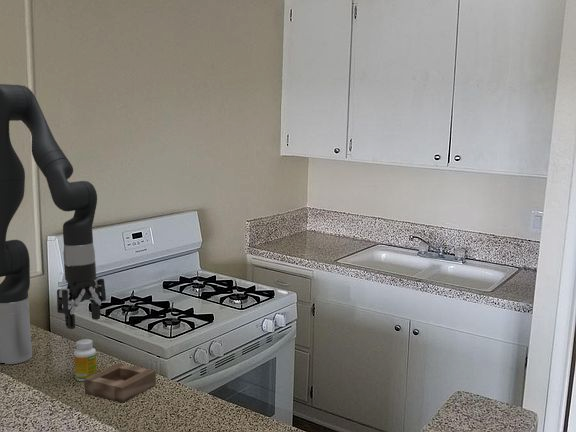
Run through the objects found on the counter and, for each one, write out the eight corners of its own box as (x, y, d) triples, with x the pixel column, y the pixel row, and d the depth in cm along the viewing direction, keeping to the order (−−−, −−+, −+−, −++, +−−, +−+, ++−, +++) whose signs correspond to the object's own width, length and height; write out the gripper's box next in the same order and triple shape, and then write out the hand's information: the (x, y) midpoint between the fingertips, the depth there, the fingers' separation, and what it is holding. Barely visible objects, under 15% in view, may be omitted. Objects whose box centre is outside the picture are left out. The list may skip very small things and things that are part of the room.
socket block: (85, 393, 162) (84, 379, 161) (119, 376, 172) (118, 363, 172) (123, 402, 156) (122, 388, 156) (155, 384, 167) (155, 370, 166)
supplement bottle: (90, 382, 168) (88, 345, 167) (71, 381, 169) (69, 344, 168) (101, 374, 174) (99, 338, 172) (82, 373, 175) (80, 337, 173)
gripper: (89, 254, 175) (93, 314, 177) (46, 265, 163) (51, 329, 165) (110, 257, 172) (114, 318, 174) (69, 268, 159) (73, 333, 161)
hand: (83, 323), depth 169 cm, fingers open, 8 cm apart
